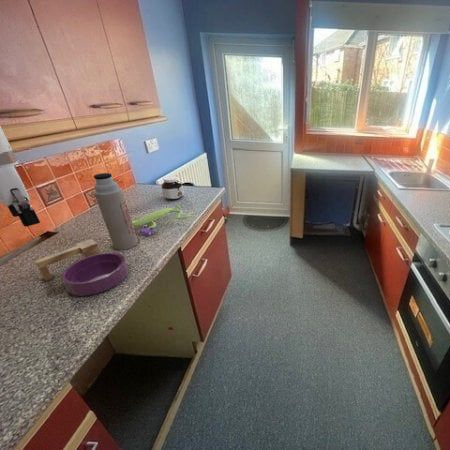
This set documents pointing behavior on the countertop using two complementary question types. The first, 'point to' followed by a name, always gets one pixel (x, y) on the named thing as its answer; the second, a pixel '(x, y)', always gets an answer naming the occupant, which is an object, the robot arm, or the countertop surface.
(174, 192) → the spread jar
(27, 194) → the robot arm
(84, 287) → the bowl
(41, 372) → the countertop surface
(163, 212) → the figurine
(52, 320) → the countertop surface
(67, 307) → the countertop surface
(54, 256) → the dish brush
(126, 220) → the thermos bottle
